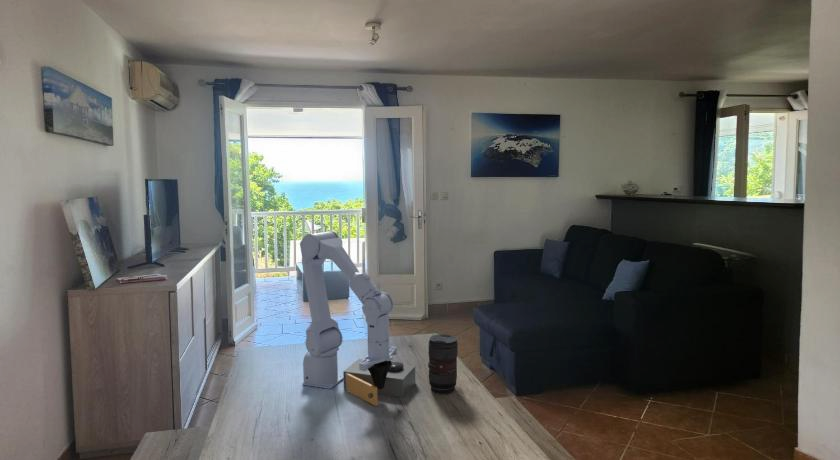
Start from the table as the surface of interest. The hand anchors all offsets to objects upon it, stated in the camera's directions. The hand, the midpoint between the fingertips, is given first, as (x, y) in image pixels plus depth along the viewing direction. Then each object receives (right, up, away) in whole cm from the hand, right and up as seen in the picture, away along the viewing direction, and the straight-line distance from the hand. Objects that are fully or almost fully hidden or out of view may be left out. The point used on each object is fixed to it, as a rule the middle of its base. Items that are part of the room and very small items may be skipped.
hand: (379, 387), depth 141 cm
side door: (-5, -3, +1) cm, 6 cm away
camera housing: (-1, -2, +9) cm, 9 cm away
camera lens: (+17, -3, +6) cm, 19 cm away
